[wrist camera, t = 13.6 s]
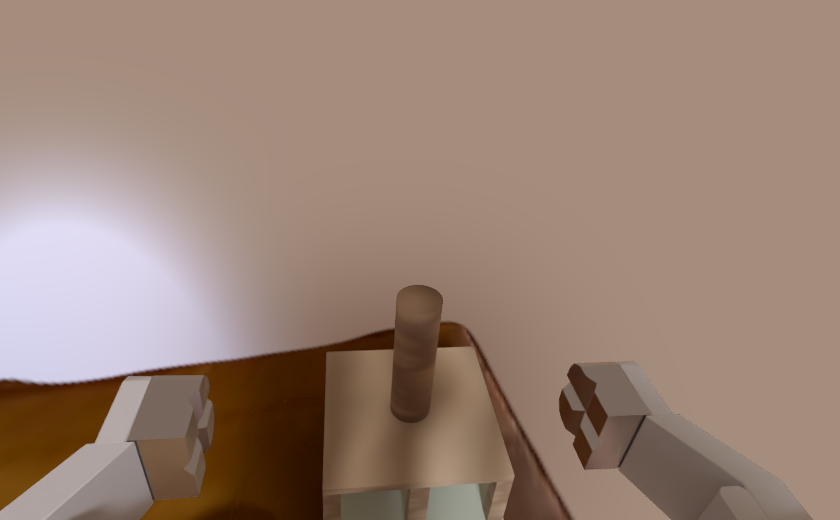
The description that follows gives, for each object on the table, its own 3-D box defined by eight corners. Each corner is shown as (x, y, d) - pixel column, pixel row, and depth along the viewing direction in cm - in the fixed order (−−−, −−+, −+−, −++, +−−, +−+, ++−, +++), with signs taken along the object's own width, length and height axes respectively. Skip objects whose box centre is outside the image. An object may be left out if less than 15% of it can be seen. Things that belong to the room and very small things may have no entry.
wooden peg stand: (324, 538, 38) (316, 374, 29) (328, 398, 49) (322, 247, 40) (501, 522, 40) (545, 364, 31) (465, 391, 51) (490, 246, 42)
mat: (322, 542, 38) (322, 540, 38) (326, 398, 50) (326, 395, 50) (503, 526, 40) (504, 523, 40) (466, 391, 52) (467, 388, 52)
